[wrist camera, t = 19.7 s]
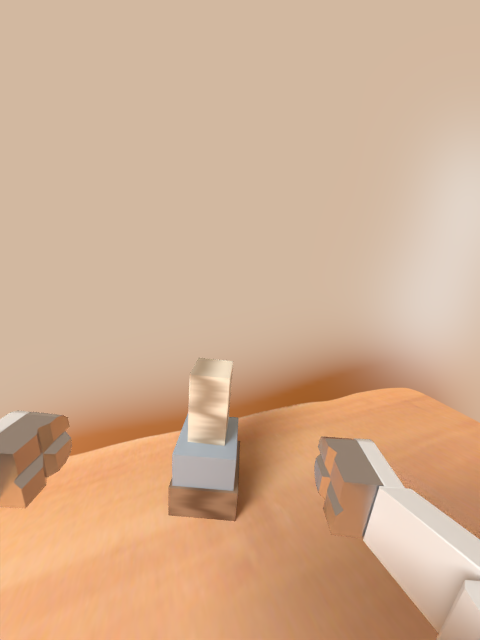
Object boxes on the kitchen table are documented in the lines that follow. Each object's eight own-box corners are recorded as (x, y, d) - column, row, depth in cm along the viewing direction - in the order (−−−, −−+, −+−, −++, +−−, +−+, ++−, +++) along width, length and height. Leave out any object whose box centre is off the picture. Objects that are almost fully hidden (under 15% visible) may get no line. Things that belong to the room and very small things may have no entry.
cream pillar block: (228, 420, 36) (233, 361, 34) (224, 445, 31) (230, 378, 29) (196, 417, 36) (198, 357, 34) (187, 441, 31) (189, 374, 29)
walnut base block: (237, 465, 40) (239, 441, 39) (235, 522, 32) (237, 493, 30) (185, 460, 40) (185, 436, 39) (168, 516, 32) (168, 487, 30)
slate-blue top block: (235, 443, 38) (238, 417, 37) (233, 490, 31) (236, 460, 29) (187, 439, 38) (187, 413, 37) (172, 485, 31) (172, 454, 29)
